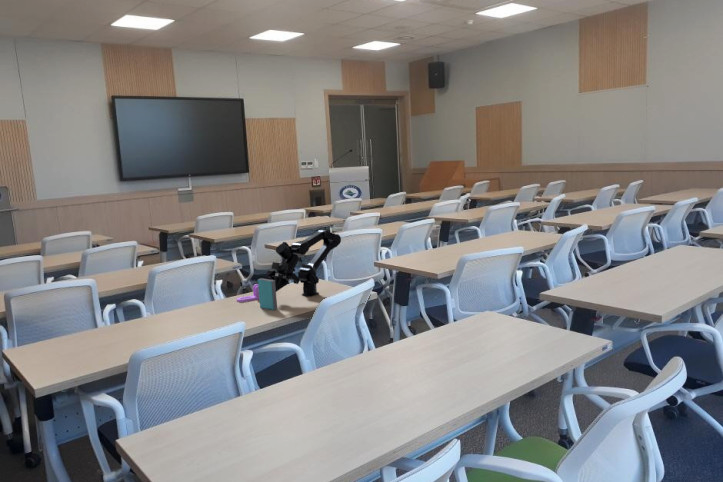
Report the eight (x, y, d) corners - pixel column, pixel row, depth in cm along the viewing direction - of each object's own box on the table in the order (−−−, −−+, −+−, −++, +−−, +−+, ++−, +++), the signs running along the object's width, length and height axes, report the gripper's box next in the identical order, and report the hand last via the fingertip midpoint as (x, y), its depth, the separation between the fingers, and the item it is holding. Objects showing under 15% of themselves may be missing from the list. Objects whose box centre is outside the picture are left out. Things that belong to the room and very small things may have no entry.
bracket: (260, 296, 294) (259, 283, 293) (263, 298, 289) (262, 285, 288) (235, 300, 289) (234, 287, 288) (238, 303, 284) (236, 289, 283)
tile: (263, 306, 274) (261, 278, 272) (277, 309, 268) (274, 280, 265) (259, 307, 272) (257, 279, 270) (273, 310, 266) (271, 281, 264)
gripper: (267, 254, 280) (251, 280, 273) (293, 256, 268) (277, 284, 261) (280, 266, 287) (265, 292, 280) (306, 269, 275) (291, 297, 268)
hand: (274, 291), depth 272 cm, fingers closed
